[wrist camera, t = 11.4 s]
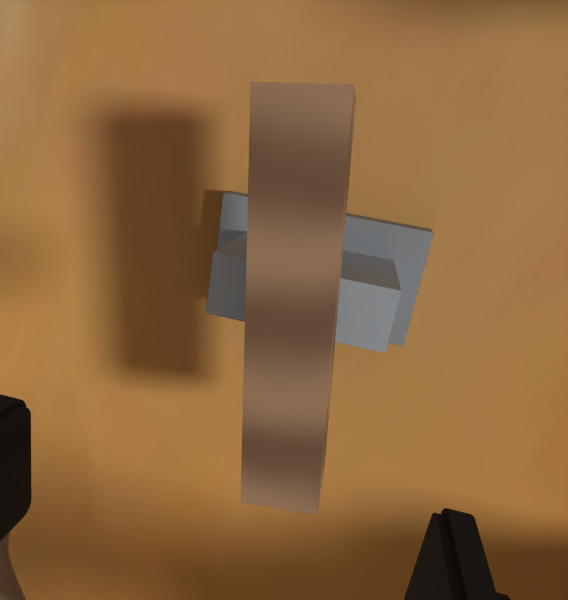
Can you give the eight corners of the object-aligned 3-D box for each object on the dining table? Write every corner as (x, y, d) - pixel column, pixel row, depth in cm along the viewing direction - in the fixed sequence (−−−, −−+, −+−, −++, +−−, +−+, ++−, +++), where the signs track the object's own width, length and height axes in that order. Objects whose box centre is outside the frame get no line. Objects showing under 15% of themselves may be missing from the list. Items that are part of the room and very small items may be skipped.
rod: (324, 465, 28) (317, 514, 24) (257, 456, 28) (240, 502, 24) (356, 97, 22) (353, 84, 18) (270, 94, 22) (250, 81, 18)
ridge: (401, 338, 34) (412, 398, 25) (216, 297, 35) (168, 341, 27) (430, 229, 31) (453, 255, 23) (229, 190, 33) (181, 202, 24)
